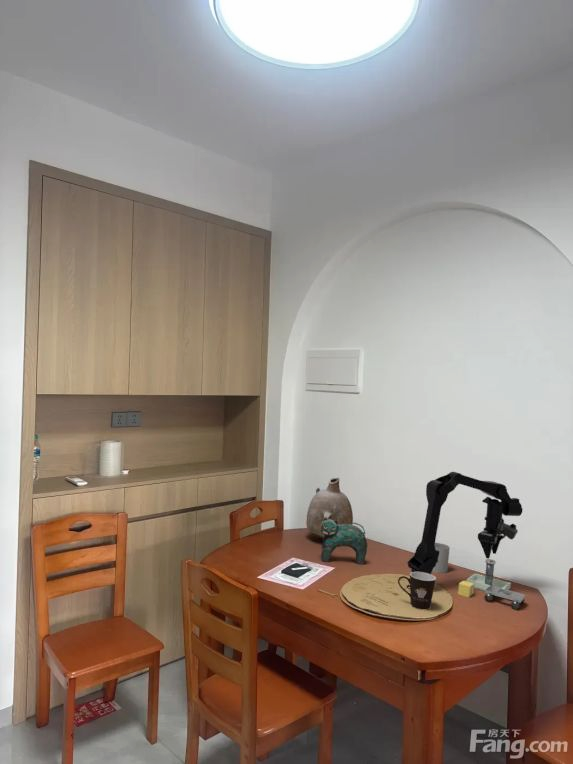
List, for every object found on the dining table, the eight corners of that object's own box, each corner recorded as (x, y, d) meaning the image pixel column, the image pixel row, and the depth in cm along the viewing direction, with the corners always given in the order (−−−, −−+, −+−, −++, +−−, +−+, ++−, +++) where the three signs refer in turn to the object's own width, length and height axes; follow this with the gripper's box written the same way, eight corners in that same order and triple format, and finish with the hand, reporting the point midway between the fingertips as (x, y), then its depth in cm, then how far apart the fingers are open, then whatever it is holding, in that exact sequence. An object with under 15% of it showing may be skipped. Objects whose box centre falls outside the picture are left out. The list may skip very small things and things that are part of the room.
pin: (491, 588, 207) (494, 563, 207) (482, 585, 209) (484, 560, 209) (494, 586, 210) (496, 560, 210) (484, 583, 212) (487, 558, 212)
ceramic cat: (318, 562, 222) (322, 513, 223) (316, 557, 229) (320, 509, 229) (366, 566, 223) (370, 517, 223) (363, 561, 230) (367, 513, 230)
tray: (502, 596, 202) (503, 589, 202) (465, 585, 209) (466, 579, 210) (510, 589, 210) (510, 582, 210) (474, 579, 218) (474, 573, 218)
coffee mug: (437, 607, 185) (440, 577, 185) (425, 613, 179) (428, 582, 179) (407, 596, 193) (409, 567, 193) (394, 601, 186) (397, 572, 187)
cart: (525, 603, 196) (526, 593, 196) (519, 610, 188) (519, 600, 188) (490, 593, 203) (491, 584, 203) (483, 600, 195) (484, 590, 195)
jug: (300, 532, 266) (305, 471, 266) (342, 534, 270) (347, 474, 270) (311, 548, 242) (317, 480, 242) (357, 549, 246) (363, 483, 246)
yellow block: (468, 597, 197) (469, 586, 197) (457, 594, 200) (458, 583, 200) (473, 594, 201) (474, 583, 201) (462, 591, 204) (463, 580, 204)
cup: (439, 566, 232) (441, 542, 232) (451, 572, 224) (453, 548, 225) (422, 566, 229) (424, 542, 229) (434, 573, 221) (436, 548, 222)
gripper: (510, 523, 198) (506, 566, 198) (522, 516, 213) (519, 556, 213) (478, 517, 204) (475, 558, 204) (492, 510, 220) (489, 549, 219)
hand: (491, 555), depth 210 cm, fingers open, 9 cm apart
